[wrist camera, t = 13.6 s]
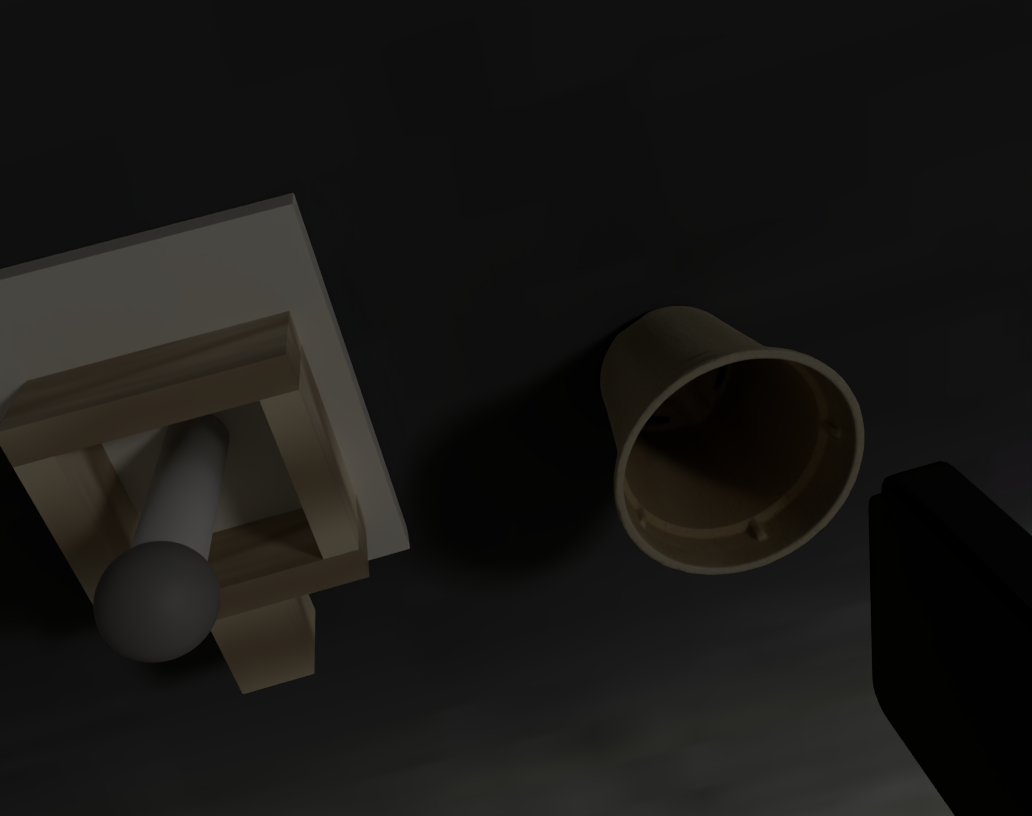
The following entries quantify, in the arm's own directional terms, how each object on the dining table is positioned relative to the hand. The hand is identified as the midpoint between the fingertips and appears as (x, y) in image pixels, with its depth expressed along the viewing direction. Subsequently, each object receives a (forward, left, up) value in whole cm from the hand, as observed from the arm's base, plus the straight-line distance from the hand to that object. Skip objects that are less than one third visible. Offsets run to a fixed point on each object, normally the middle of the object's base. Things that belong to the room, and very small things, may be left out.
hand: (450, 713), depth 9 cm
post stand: (+10, -10, -28) cm, 31 cm away
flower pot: (+13, +10, -28) cm, 33 cm away
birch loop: (+12, -9, -27) cm, 31 cm away
